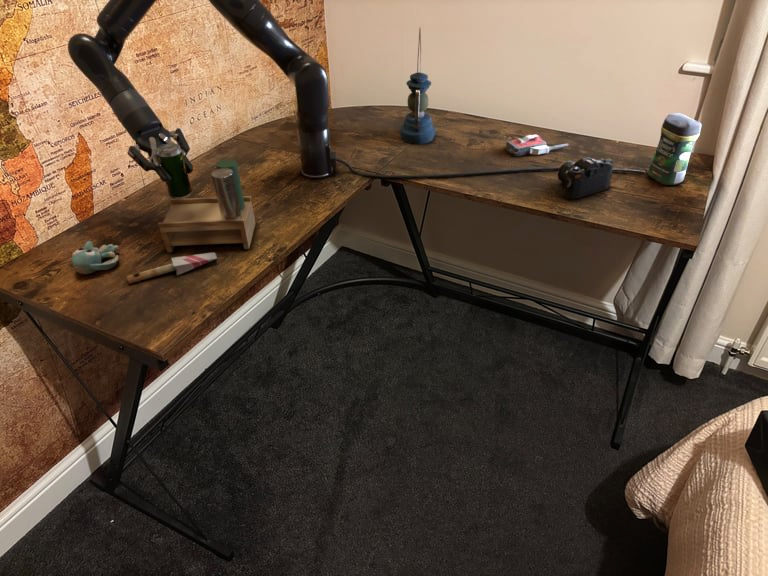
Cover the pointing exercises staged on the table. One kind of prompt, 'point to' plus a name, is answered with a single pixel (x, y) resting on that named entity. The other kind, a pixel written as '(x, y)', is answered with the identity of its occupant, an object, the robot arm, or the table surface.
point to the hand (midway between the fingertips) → (180, 176)
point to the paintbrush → (175, 266)
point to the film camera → (585, 176)
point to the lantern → (418, 109)
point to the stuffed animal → (94, 258)
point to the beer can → (175, 170)
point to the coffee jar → (674, 149)
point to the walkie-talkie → (530, 146)
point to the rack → (212, 214)
